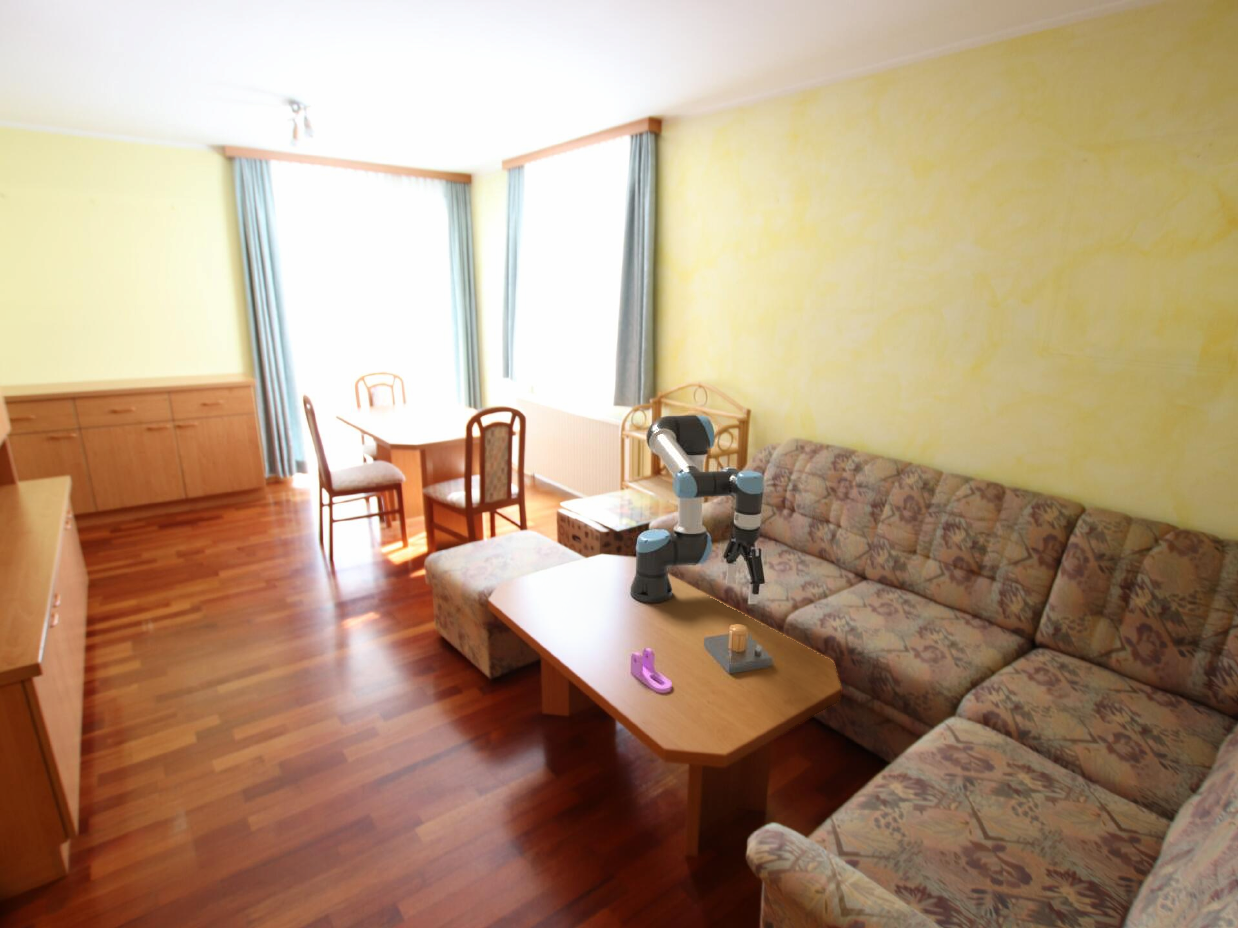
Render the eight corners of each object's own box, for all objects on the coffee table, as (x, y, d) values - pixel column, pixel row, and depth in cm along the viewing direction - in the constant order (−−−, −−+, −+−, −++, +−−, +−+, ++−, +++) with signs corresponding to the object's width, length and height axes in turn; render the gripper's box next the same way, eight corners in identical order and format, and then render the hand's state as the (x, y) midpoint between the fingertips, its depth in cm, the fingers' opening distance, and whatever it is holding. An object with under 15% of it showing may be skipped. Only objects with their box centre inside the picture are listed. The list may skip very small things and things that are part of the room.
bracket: (630, 673, 184) (631, 651, 182) (645, 667, 187) (646, 645, 186) (660, 695, 174) (661, 672, 172) (675, 688, 177) (676, 665, 176)
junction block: (703, 646, 199) (705, 625, 198) (744, 639, 204) (745, 619, 202) (728, 673, 185) (730, 651, 183) (771, 666, 189) (773, 644, 188)
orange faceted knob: (725, 644, 195) (726, 625, 194) (740, 641, 197) (742, 623, 195) (733, 652, 190) (735, 633, 189) (749, 650, 192) (750, 631, 190)
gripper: (715, 512, 196) (710, 576, 201) (757, 541, 173) (751, 614, 178) (737, 510, 198) (732, 574, 204) (781, 539, 175) (775, 610, 181)
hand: (741, 593), depth 191 cm, fingers open, 13 cm apart
